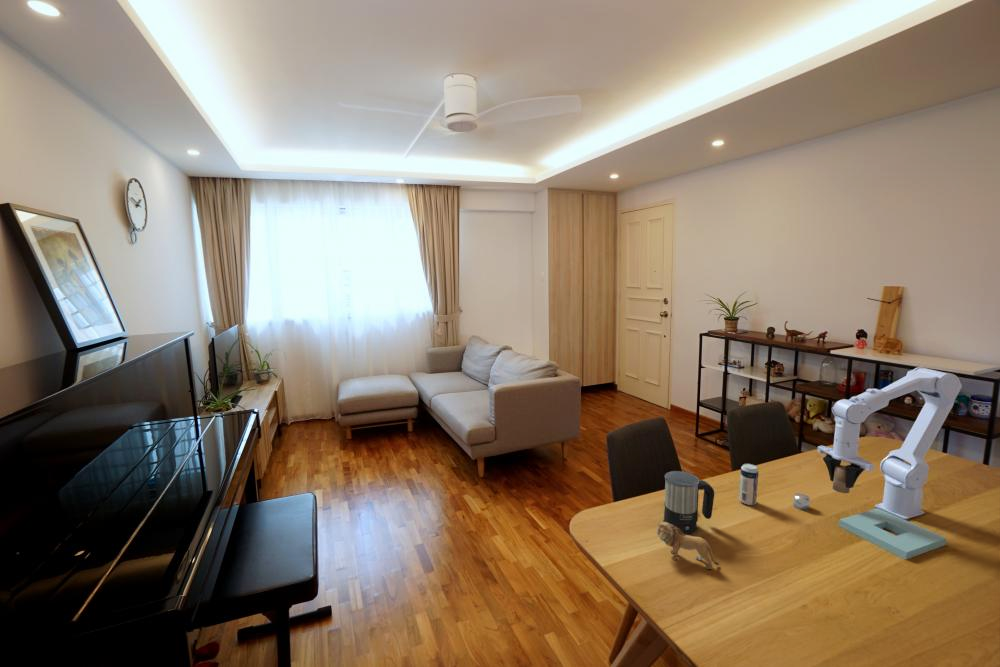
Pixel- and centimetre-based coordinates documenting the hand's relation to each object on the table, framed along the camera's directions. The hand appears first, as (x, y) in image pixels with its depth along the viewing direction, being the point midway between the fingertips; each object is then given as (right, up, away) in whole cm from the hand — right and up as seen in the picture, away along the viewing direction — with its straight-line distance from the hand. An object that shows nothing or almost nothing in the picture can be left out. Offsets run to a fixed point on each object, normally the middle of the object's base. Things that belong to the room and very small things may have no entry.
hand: (841, 483), depth 133 cm
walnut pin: (0, -2, 0) cm, 2 cm away
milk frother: (-50, -10, -2) cm, 51 cm away
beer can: (-25, -8, +7) cm, 27 cm away
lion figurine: (-56, -13, -21) cm, 61 cm away
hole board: (+5, -11, -11) cm, 16 cm away
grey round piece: (-10, -9, +4) cm, 13 cm away
